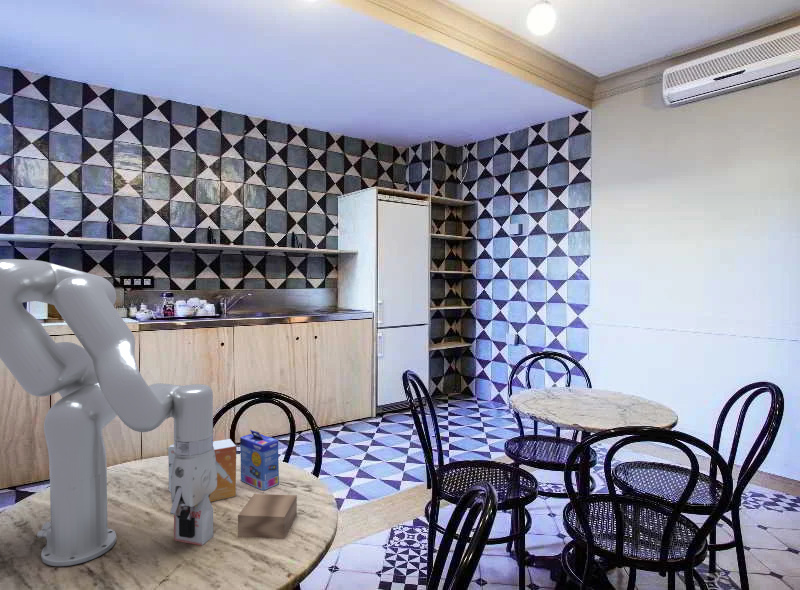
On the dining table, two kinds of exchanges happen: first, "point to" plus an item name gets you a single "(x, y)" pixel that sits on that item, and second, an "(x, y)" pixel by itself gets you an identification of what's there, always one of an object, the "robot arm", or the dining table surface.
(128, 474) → the dining table surface
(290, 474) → the dining table surface
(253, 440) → the ink cartridge box
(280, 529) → the base block
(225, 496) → the small box
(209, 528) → the white carton
